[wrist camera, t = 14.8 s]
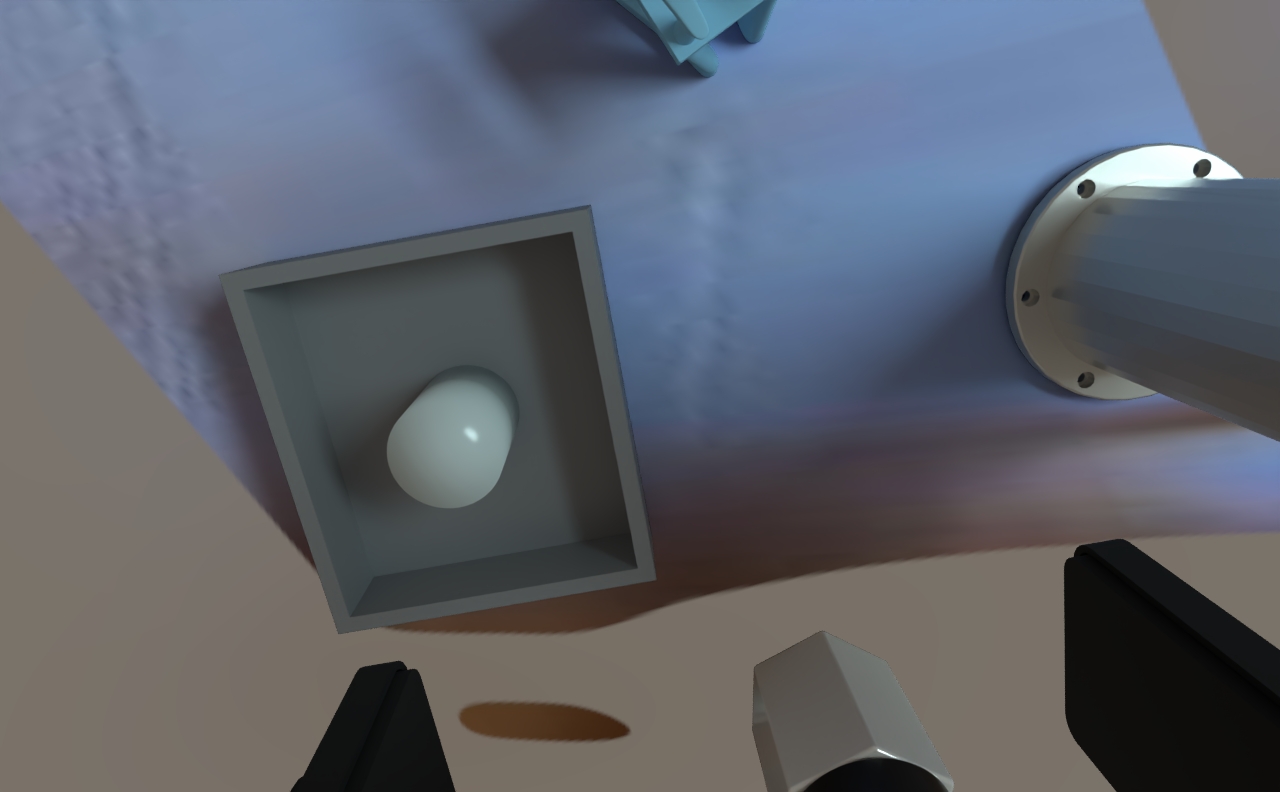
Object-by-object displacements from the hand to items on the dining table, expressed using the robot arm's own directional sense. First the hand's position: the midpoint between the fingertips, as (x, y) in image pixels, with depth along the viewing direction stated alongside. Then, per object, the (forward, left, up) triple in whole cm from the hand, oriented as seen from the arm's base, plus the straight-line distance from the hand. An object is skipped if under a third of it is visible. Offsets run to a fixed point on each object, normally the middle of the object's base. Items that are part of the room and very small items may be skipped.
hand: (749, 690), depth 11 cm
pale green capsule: (+10, +3, -28) cm, 30 cm away
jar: (-6, +24, -28) cm, 38 cm away
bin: (+10, +3, -28) cm, 30 cm away
